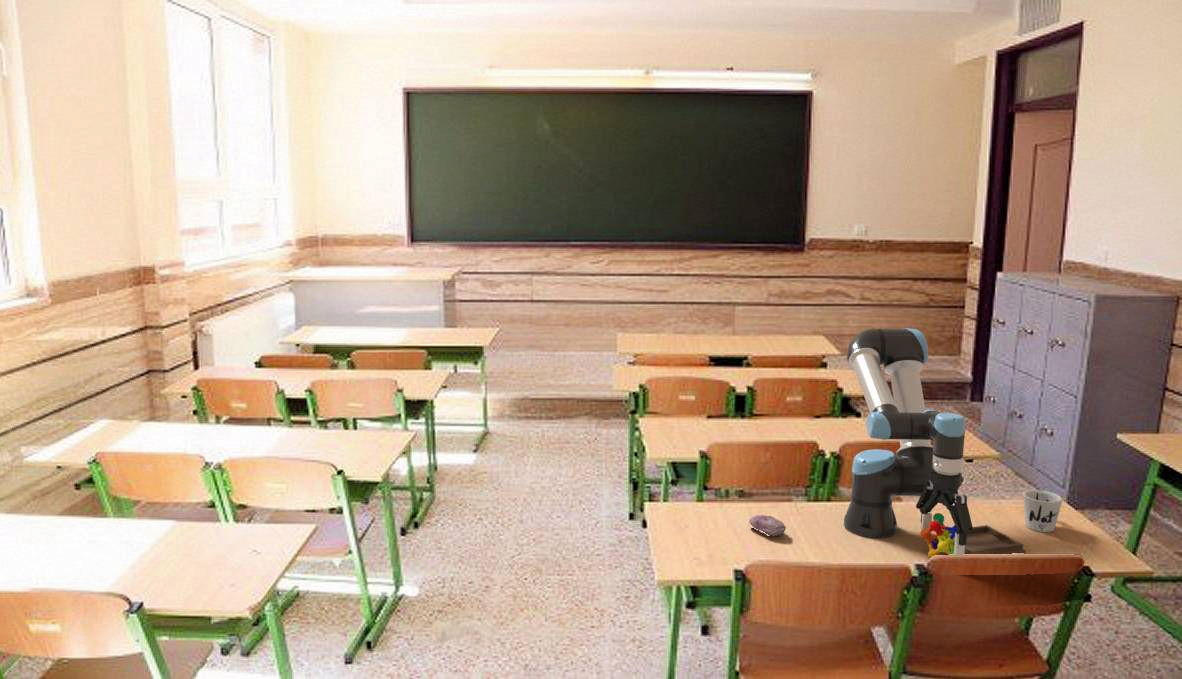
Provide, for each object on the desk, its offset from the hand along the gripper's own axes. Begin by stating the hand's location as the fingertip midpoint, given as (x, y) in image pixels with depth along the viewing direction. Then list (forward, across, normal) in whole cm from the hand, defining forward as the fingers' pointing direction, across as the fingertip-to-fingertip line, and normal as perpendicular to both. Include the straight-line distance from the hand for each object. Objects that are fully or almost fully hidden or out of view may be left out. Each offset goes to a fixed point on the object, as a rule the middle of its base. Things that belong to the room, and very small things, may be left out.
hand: (941, 545), depth 226 cm
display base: (+4, -4, +16) cm, 17 cm away
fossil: (+4, -30, -37) cm, 48 cm away
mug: (+4, -12, +44) cm, 46 cm away
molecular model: (+4, 0, 0) cm, 4 cm away
